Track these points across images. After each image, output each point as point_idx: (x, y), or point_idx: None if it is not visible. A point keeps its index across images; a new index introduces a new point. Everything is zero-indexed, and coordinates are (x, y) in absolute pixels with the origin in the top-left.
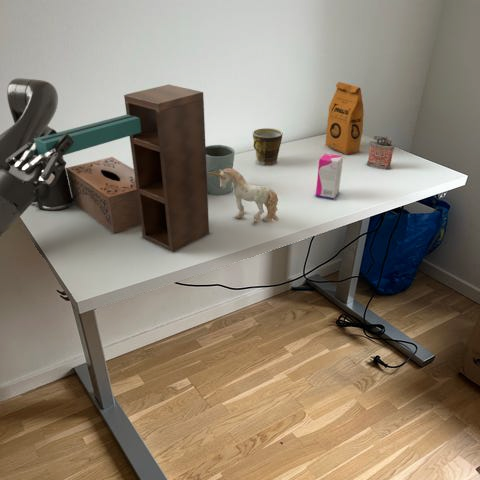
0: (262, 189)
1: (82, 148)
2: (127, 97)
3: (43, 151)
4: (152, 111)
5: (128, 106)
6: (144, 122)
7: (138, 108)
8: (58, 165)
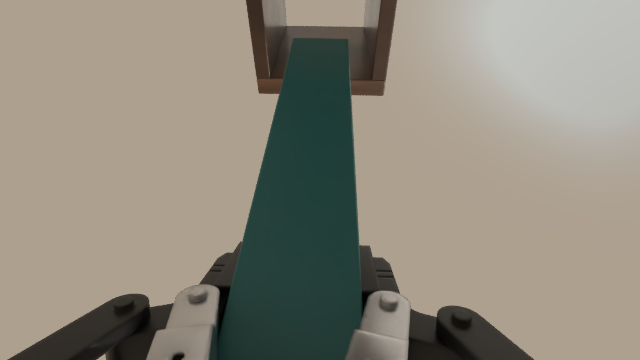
0: None
1: (260, 177)
2: (370, 92)
3: None
4: (370, 18)
5: (374, 72)
6: (374, 6)
7: (371, 49)
8: (118, 340)
